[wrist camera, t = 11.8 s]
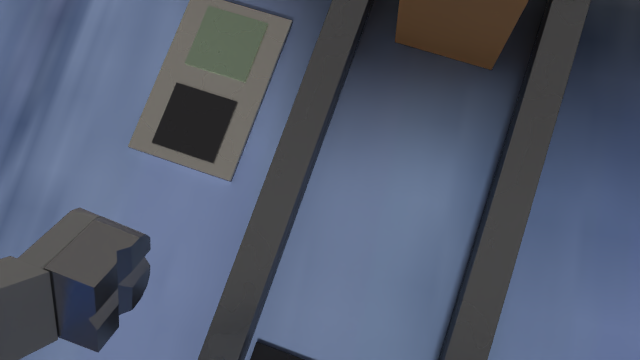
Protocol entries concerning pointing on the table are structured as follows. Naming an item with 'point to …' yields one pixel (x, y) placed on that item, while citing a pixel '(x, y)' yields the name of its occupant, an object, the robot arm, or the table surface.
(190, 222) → the table surface
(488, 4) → the orange brown box
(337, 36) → the switch channel
